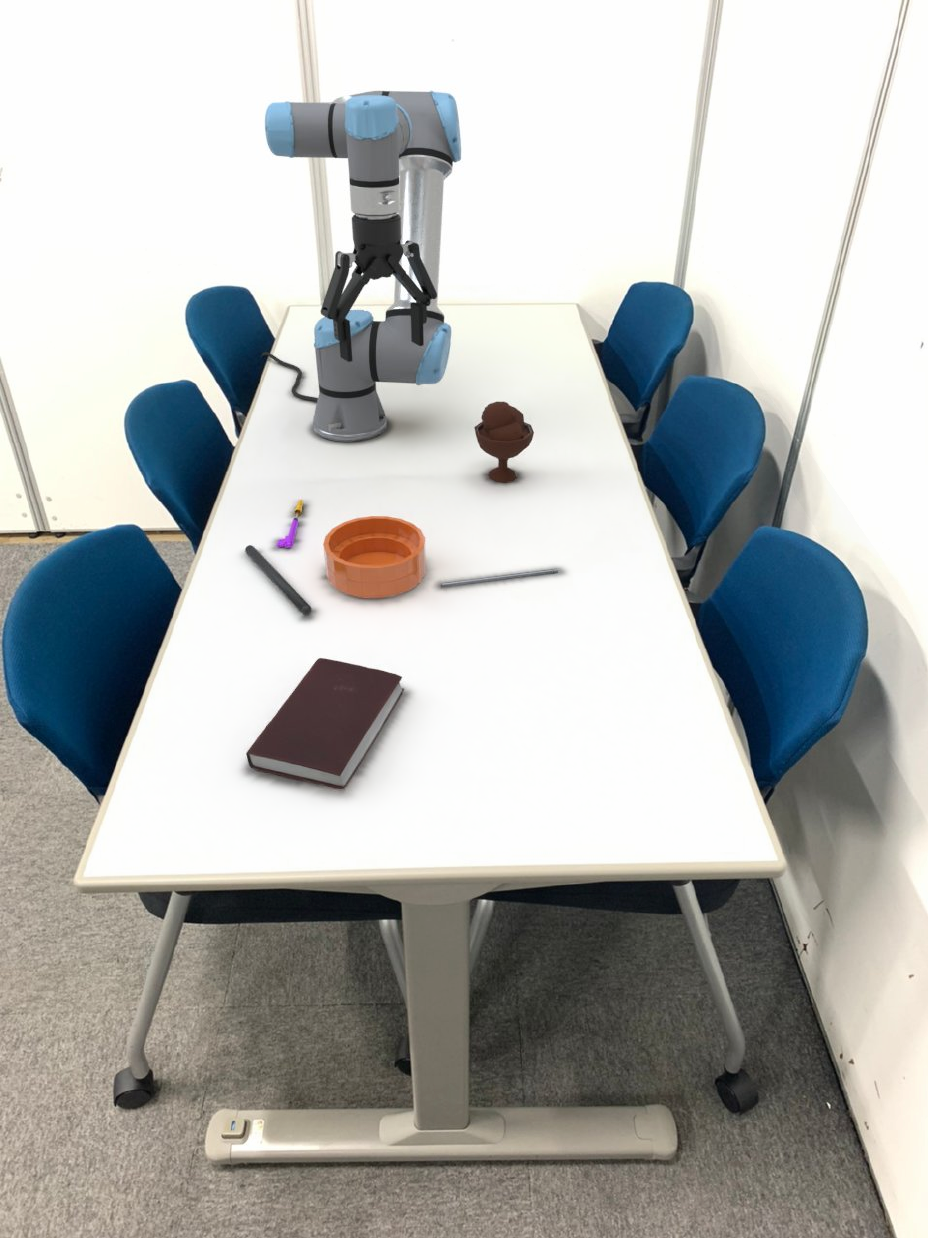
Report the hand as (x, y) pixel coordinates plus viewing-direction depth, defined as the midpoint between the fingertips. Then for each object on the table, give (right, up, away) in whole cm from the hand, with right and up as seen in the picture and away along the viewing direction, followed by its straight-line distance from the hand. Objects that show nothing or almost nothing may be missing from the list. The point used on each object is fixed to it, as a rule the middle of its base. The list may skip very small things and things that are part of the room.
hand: (382, 351), depth 148 cm
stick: (-16, -38, -9) cm, 42 cm away
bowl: (0, -37, -6) cm, 38 cm away
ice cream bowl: (+21, -17, +22) cm, 35 cm away
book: (-3, -58, -36) cm, 69 cm away
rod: (+19, -38, -7) cm, 43 cm away
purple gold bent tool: (-16, -29, +6) cm, 33 cm away
